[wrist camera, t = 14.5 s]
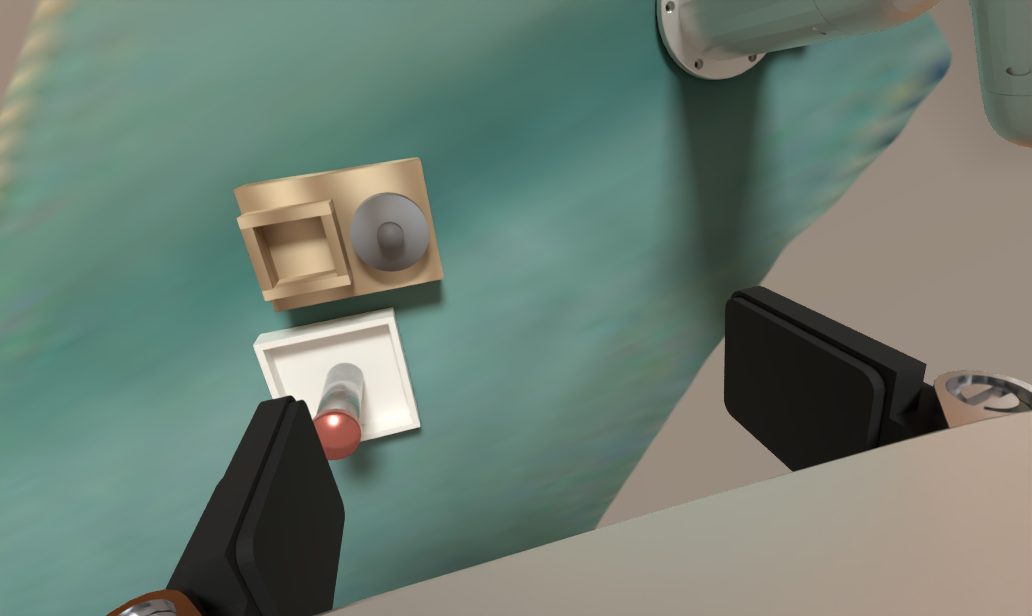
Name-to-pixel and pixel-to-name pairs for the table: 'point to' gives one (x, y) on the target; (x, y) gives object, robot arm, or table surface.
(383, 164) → the wooden base with socket
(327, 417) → the pin
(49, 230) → the table surface
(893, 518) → the robot arm
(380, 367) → the tray
